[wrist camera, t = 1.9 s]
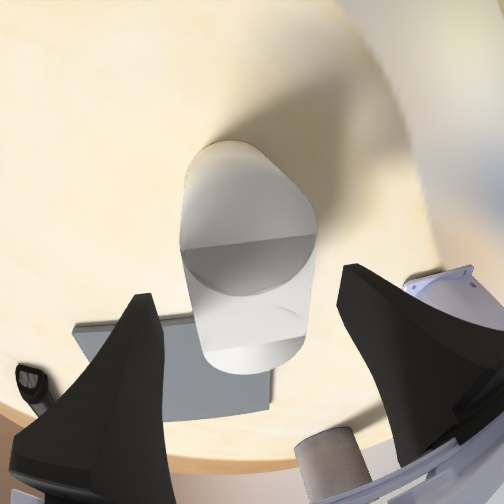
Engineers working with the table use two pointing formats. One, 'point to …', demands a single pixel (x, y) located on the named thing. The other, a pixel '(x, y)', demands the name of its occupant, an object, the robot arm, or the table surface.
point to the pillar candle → (331, 464)
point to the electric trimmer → (34, 388)
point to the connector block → (246, 257)
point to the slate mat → (191, 375)
